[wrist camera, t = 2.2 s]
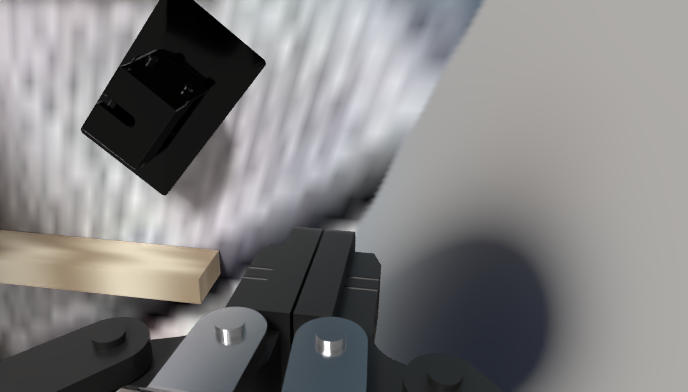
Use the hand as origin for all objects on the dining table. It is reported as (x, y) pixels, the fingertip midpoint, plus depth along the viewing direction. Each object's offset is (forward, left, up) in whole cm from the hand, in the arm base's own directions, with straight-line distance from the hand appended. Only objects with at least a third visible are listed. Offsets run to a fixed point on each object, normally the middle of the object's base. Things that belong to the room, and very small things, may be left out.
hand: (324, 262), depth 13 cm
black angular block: (-10, 0, -14) cm, 18 cm away
